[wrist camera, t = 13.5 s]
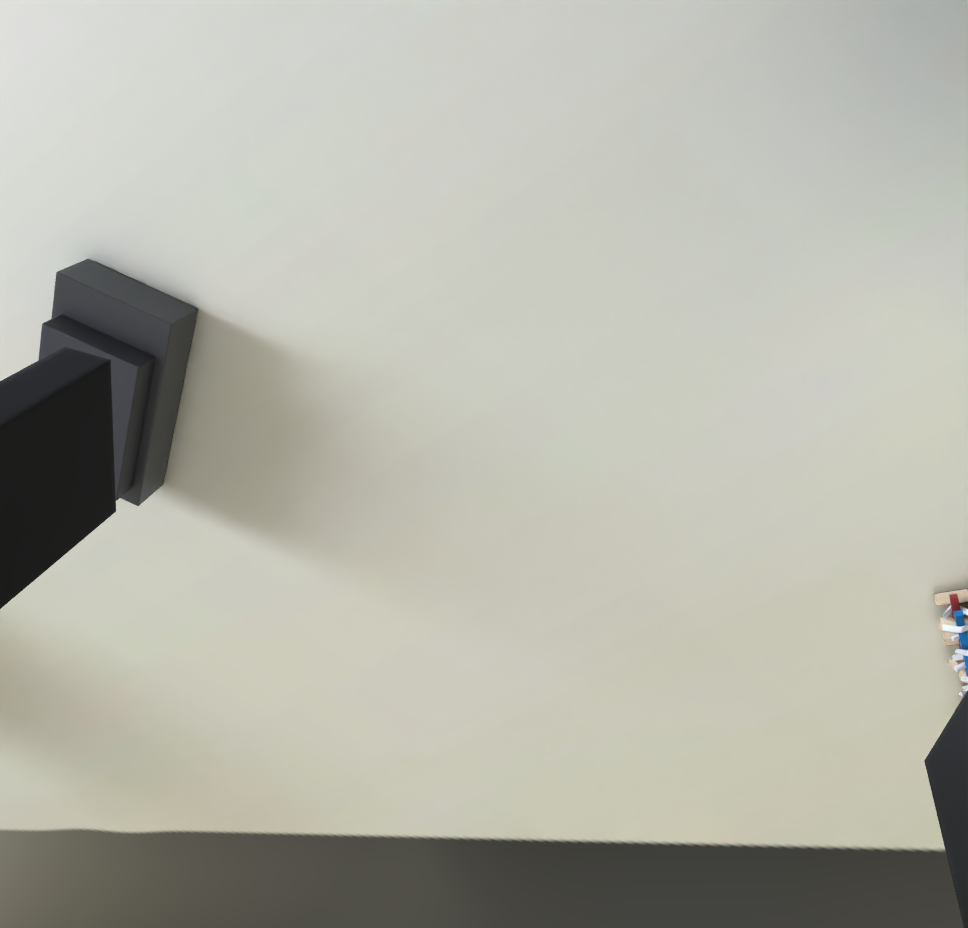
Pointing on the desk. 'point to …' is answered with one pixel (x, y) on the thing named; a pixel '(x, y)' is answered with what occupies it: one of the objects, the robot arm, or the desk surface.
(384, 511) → the desk surface
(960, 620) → the woven mat
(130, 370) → the dark grey stepped block
